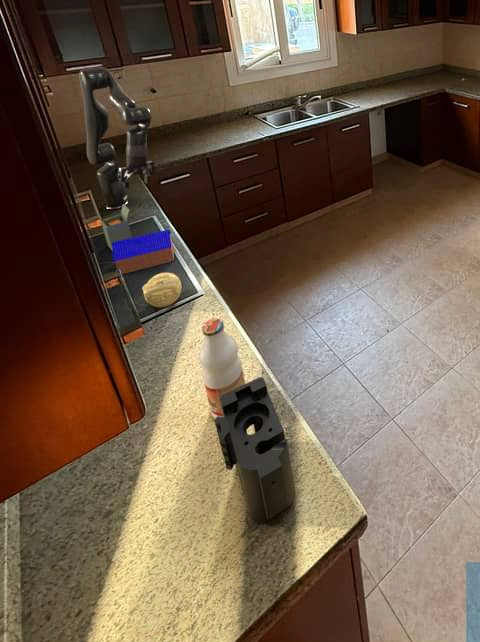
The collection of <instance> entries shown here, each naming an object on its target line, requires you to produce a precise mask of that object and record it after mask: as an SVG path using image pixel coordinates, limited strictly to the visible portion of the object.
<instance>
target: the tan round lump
mask: <svg viewBox="0 0 480 642" xmlns="http://www.w3.org/2000/svg"><path fill="white" fill-rule="evenodd" d="M182 290H183V289H182V282H181V280H180V278H179V277H178V276H177V274H174V273H172V272H160V273H158V274H155V275H154V276H153V277H151V278H150V279H149V280H148V281H147V283H145V284H144V285H143V286H142V291H143V296H144V299H145V301H146V303H148V304H150V305H151V306H152V307H155V308H165V307H168V306H170V305H172V304H174V303H176V301H177V300H178V299H179V298H180V296H181V293H182Z"/></svg>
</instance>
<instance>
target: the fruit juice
mask: <svg viewBox="0 0 480 642" xmlns="http://www.w3.org/2000/svg"><path fill="white" fill-rule="evenodd" d="M201 332H202V335H203V336H204V342H203V344H202V346H201V347H200V349H199V352H198V362H199V364H200V366H201V367H202V369H201V375H202V381H203V385H204V389H205V393H206V398H207V400H208V406H209V410H210V414H211V416H212V417H213V419H214V420H215V419H216V418H217V416H218V417H223V416H224V414H223V410H222V406H221V401H220V398H221V396H222V395H224V394H226V393H228V392H230V391H232V390H234V389H236V388H238V387H240V386H242V385H244V384H246V380H245V375H244V370H243V364H242V360H241V358H240V356H239V354H238V353H239V351H238V350H239V347H238V343H237V341H236V339H235V338H234V337H232V335H229V334H228V333H227V332H226V331H225V324H224V321H223V320H222V319H221V318H217V317H215V318H211V319H209V320H207V321H206V322H204V323H203V324H202V328H201Z"/></svg>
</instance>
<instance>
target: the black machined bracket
mask: <svg viewBox="0 0 480 642" xmlns="http://www.w3.org/2000/svg"><path fill="white" fill-rule="evenodd" d="M220 401H221V406H222V410H223V414H224V416H223V417H218V416H217V418H216V419H215V418H214V425H215V429H216V433H217V437H218V442H219V446H220V449H221V454H222V456H223V459H224V464H225V469H226V470H229V471H232V470H233V468H234V466H235V468H236V469H235V470H236V472H237V476H238V480H239V482H240V486H241V489H242V493H243V496H244V500H245V503H246V506H247V510H248V514H249V517H250V521H252V523H255V524H256V525H258V526H262V524H264V523H266V522H267V521H269V520H270V519H272V518H273V517H274V516H276V515H278V514H280V513H281V512H282V511H284V510H285V509H287V508H288V507H290V506H291V505H293V504H294V500H295V496H296V489H295V483H294V475H293V469H292V463H291V457H290V456H291V455H290V450H289V444H288V438H286V435H285V430H284V427H283V425H282V423H281V420H280V418H279V415H278V412H277V410H276V408H275V406H274V404H273V401H272V399H271V396H270V394H269V391H268V386H267V383H266V381H265V378H264V377H261V376H260V377H257V378H254V379H253V380H251V381H249V382H247V383H246V382H245V384H244V385H242V386H240V387H238V388H236V389H234V390H232V391H230V392H228V393H226V394H224V395H222V396H221V398H220ZM251 426H253V430H254V433H252V434H249V433H248V429H249V428H250V427H251Z"/></svg>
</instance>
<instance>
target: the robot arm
mask: <svg viewBox="0 0 480 642" xmlns="http://www.w3.org/2000/svg"><path fill="white" fill-rule="evenodd" d="M78 79H79V86H80V90H81V95H82V101H83V111H84V113H83V114H84V122H85V130H86V157H87V161H88V162H89V164H91V165H92V166H100V165H103V166H102V167H100V168H99V169H98V170H97V171H96V176H97V180H98V183H99V186H100V190H101V192H102V196H103V199H104V203H105V208H106V209H107V210H109V211H110V210H118V209H122V207H123V204H125V205H126V206H128V204H129V201H128V199H127V198H128V195H127V194H126V190H129V189H130V180H131V179H132V178H133V177H134V176H137V175H141V174H142V173H143V174H144V176H143V178H144V179H143V180H144V183H145V184H146V185H148V184H150V182H151V176H152V175H154V174H155V171H156V170H155V162H154V161H152V160H150V159H148V145H147V134H148V131H149V128H150V126H151V122H152V117H153V116H152V111H151V110H150V109H149V108H148V107H146V106H137V104H136V102H135V100H134V99H132V97H130V96H129V95H128V94H127V93H126V92H125V91H124V89H123V88H122V87H121V86H120V84H119V83H118V81H117V80H116V79H115V77H114V76H113V74H112V73H111V72H110V71H109V70H108V69H107V68H106V67H103V66H97V67H90V68H84V69H81V70H79V73H78ZM101 89H109V92H108V101H109V103H110V104H111V105H112V107H114V109H115V110H117V111H118V113H119V115H120V117H121V120H122V122H123V124H124V125H127V126H134V127H132V128H130V129H128V130H127V132H126V149H125V157H126V158H125V159H126V166H125V167H122V166H119V163H118V157H117V153H116V150H115V147H114V146H113V145H112V144H111V143H110V142H105V143H104V142H103V143H101V144H100V142H101V140H103V139H102V138H103V137H104V136H105V134H106V133H107V132H108V130H109V127H110V113H109V111H108V109H107V108H106V107H105V106H104V105H103V104H102V103H101V102H100V101H99V100H98V99H97V98H96V97H95V94H94V91H97V90H101ZM147 167H148V170H147V169H146V168H147Z"/></svg>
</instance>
